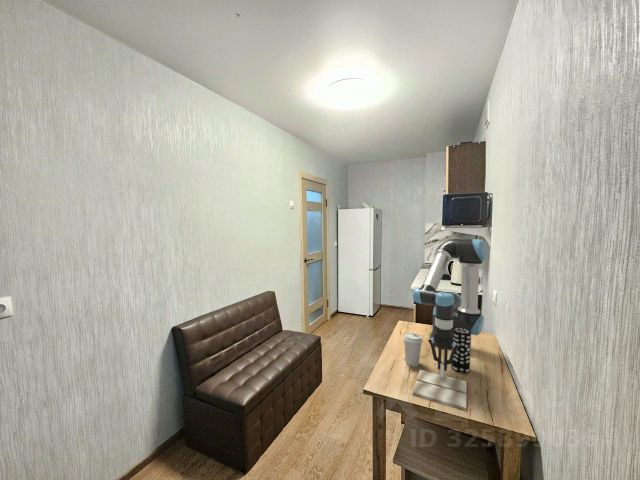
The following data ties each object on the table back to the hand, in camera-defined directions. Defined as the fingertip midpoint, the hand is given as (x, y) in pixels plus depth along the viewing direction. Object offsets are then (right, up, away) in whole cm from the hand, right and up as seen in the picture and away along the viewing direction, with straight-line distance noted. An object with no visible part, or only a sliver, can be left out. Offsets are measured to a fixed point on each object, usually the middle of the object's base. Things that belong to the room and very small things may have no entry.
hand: (442, 376), depth 125 cm
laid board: (-6, -2, -11) cm, 13 cm away
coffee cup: (-9, -1, +15) cm, 18 cm away
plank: (-1, -2, -2) cm, 3 cm away
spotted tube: (+14, -2, +10) cm, 17 cm away
